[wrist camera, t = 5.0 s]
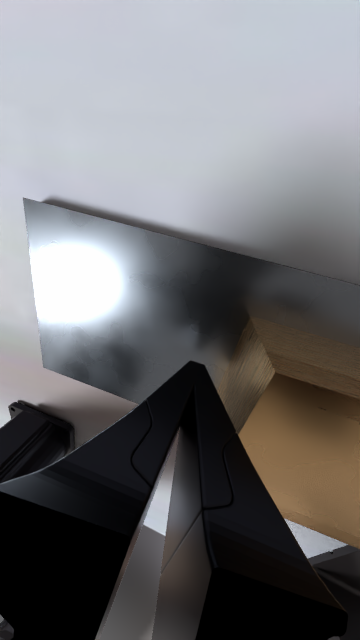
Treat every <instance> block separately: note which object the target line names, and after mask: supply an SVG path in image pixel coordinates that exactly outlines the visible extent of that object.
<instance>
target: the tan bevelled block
mask: <svg viewBox="0 0 360 640" xmlns="http://www.w3.org/2000/svg"><path fill="white" fill-rule="evenodd" d="M217 392H218V394H219V396H220V398H221V400H222V402H223V404H224V406H225V408H226V411H227V413H228V415H229V417H230V419H231V421H232V423H233V425H234V427H235V429H236V433H237V434H238V436H239V438H240V440H241V442H242V444H243V446H244V448H245V450H246V452H247V454H248V456H249V458H250V460H251V462H252V464H253V465H254V467H255V469H256V471H257V473H258V474H259V476H260V478H261V480H262V482H263V483H264V485H265V487H266V489H267V490H268V492H269V494H270V496H271V497H272V499H273V501H274V503H275V504H276V506H277V508H278V509H279V511H280V513H281V515H282V516H283V518H285V519H288V520H290V521H292V522H295V523H297V524H300V525H302V526H305V527H307V528H310V529H312V530H314V531H317V532H319V533H322V534H324V535H327V536H329V537H331V538H334V539H336V540H339V541H341V542H344V543H346V544H348V545H351V546H353V547H356V548H358V549H360V348H359V347H356V346H352V345H349V344H345V343H342V342H338V341H335V340H332V339H328V338H325V337H321V336H318V335H314V334H311V333H307V332H304V331H300V330H297V329H294V328H290V327H287V326H283V325H280V324H276V323H273V322H269V321H266V320H262V319H259V318H255V317H252V316H249V318H248V321H247V323H246V325H245V328H244V330H243V332H242V334H241V337H240V339H239V341H238V344H237V346H236V348H235V351H234V353H233V355H232V358H231V360H230V362H229V364H228V367H227V369H226V371H225V374H224V376H223V378H222V381H221V383H220V385H219V388H218V390H217Z"/></svg>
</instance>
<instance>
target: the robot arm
mask: <svg viewBox="0 0 360 640" xmlns="http://www.w3.org/2000/svg"><path fill="white" fill-rule="evenodd" d="M8 408H9V411H10V415H11V420H10V421H9V422H7V423H6V424H5V425H4V426H2V427H1V428H0V615H1V616H2V617H3V618H4V620H3V621H2V622H1V623H0V640H99V639H100V636H101V634H102V631H103V628H104V626H105V623H106V620H107V618H108V615H109V612H110V610H111V607H112V604H113V602H114V599H115V597H116V594H117V591H118V589H119V586H120V583H121V581H122V578H123V575H124V573H125V570H126V567H127V565H128V562H129V559H130V557H131V554H132V552H133V549H134V546H135V544H136V541H137V538H138V536H139V533H140V530H141V528H142V525H143V523H144V520H145V517H146V515H147V512H148V509H149V507H150V504H151V501H152V499H153V496H154V494H155V491H156V488H157V486H158V483H159V480H160V478H161V475H162V472H163V470H164V467H165V464H166V462H167V459H168V457H169V454H170V451H171V449H172V446H173V443H174V441H175V438H176V435H177V433H178V430H179V427H180V430H179V438H178V445H177V453H176V460H175V468H174V476H173V483H172V491H171V498H170V506H169V513H168V521H167V529H166V536H165V544H164V551H163V559H162V566H161V576H160V581H159V590H158V596H157V604H156V612H155V619H154V627H153V634H152V640H328V639H329V638H331V637H334V636H343V635H344V634H345V633H346V630H347V621H348V613H347V612H346V611H345V610H344V608H343V607H342V606H341V605H340V604H339V602H338V601H337V600H336V599H335V597H334V596H333V595H332V594H331V592H330V591H329V590H328V588H327V587H326V586H325V584H324V583H323V582H322V580H321V579H320V577H319V576H318V574H317V573H316V571H315V570H314V568H313V567H312V565H311V564H310V562H309V561H308V559H307V557H306V556H305V554H304V552H303V551H302V549H301V547H300V546H299V544H298V542H297V541H296V539H295V537H294V535H293V534H292V532H291V530H290V528H289V527H288V525H287V523H286V522H285V520H284V518H283V516H282V515H281V513H280V511H279V509H278V508H277V506H276V504H275V503H274V501H273V499H272V497H271V496H270V494H269V492H268V490H267V489H266V487H265V485H264V483H263V482H262V480H261V478H260V476H259V474H258V473H257V471H256V469H255V467H254V465H253V464H252V462H251V460H250V458H249V456H248V454H247V452H246V450H245V448H244V446H243V444H242V442H241V440H240V438H239V436H238V434H237V433H236V429H235V427H234V425H233V423H232V421H231V419H230V417H229V415H228V413H227V411H226V408H225V406H224V404H223V402H222V400H221V398H220V396H219V394H218V392H217V390H216V387H215V385H214V383H213V381H212V379H211V377H210V375H209V373H208V371H207V369H206V366H205V365H204V364H201V363H198V362H195V361H192V360H190V361H189V362H187V363H186V364H185V365H184V366H183V367H182V368H181V369H179V370H178V371H177V372H176V373H175V374H174V375H172V376H171V377H170V378H169V379H168V380H167V381H165V382H164V383H163V384H162V385H161V386H160V387H159V388H157V389H156V390H155V391H154V392H153V393H152V394H150V395H149V396H148V397H147V398H146V399H145V400H143V401H142V402H141V403H140V404H139V405H138V406H136V407H135V408H134V409H133V410H131V411H130V412H129V413H128V414H126V415H125V416H124V417H122V418H121V419H120V420H118V421H117V422H115V423H114V424H113V425H111V426H110V427H108V428H107V429H105V430H104V431H102V432H101V433H99V434H98V435H96V436H95V437H93V438H92V439H90V440H89V441H87V442H86V443H84V444H83V445H81V446H80V447H78V448H77V449H75V450H74V432H73V427H72V426H71V425H69V424H67V423H65V422H63V421H60V420H58V419H55V418H53V417H51V416H48V415H46V414H43V413H41V412H39V411H36V410H34V409H31V408H29V407H27V406H24V405H22V404H19V403H17V402H13V403H12V404H11V405H9V406H8Z"/></svg>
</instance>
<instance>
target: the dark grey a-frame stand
mask: <svg viewBox="0 0 360 640" xmlns="http://www.w3.org/2000/svg"><path fill="white" fill-rule="evenodd" d="M308 561H309V562H310V564H311V565H312V567H313V568H314V570H315V571H316V573H317V574H318V576H319V577H320V579H321V580H322V582H323V583H324V584H325V586H326V587H327V588H328V590H329V591H330V592H331V594H332V595H333V596H334V597H335V599H336V600H337V601H338V602H339V604H340V605H341V606H342V607H343V608H344V610H345V611H346V612H347V613H348V621H347V630H346V633H345V634H344V635H343V636H334V637H331V638H329V639H328V640H360V549H358V548H356V547H353V546H351V545H347V546H344V547H341V548H338V549H335V550H333V553H331V552H326V553H323V554H320V555H317V556H314V557H311V558H308Z"/></svg>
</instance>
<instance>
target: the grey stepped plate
mask: <svg viewBox="0 0 360 640" xmlns="http://www.w3.org/2000/svg"><path fill="white" fill-rule="evenodd" d="M23 203H24V211H25V219H26V227H27V236H28V244H29V252H30V261H31V269H32V277H33V285H34V294H35V302H36V310H37V319H38V327H39V335H40V343H41V352H42V360H43V367H44V368H46V369H49V370H52V371H54V372H57V373H59V374H62V375H65V376H67V377H70V378H72V379H75V380H78V381H80V382H83V383H85V384H88V385H91V386H93V387H96V388H99V389H101V390H104V391H106V392H109V393H112V394H114V395H117V396H119V397H122V398H125V399H127V400H130V401H132V402H135V403H138V404H140V403H141V402H142V401H143V400H145V399H146V398H147V397H148V396H149V395H150V394H152V393H153V392H154V391H155V390H156V389H157V388H159V387H160V386H161V385H162V384H163V383H164V382H165V381H167V380H168V379H169V378H170V377H171V376H172V375H174V374H175V373H176V372H177V371H178V370H179V369H181V368H182V367H183V366H184V365H185V364H186V363H187V362H189V361H190V360H192V361H195V362H198V363H201V364H204V365H205V366H206V369H207V371H208V373H209V375H210V377H211V379H212V381H213V383H214V385H215V387H216V390H218V388H219V385H220V383H221V381H222V378H223V376H224V374H225V371H226V369H227V367H228V364H229V362H230V360H231V358H232V355H233V353H234V351H235V348H236V346H237V344H238V341H239V339H240V337H241V334H242V332H243V330H244V328H245V325H246V323H247V321H248V318H249V316H252V317H255V318H259V319H262V320H266V321H269V322H273V323H276V324H280V325H283V326H287V327H290V328H294V329H297V330H300V331H304V332H307V333H311V334H314V335H318V336H321V337H325V338H328V339H332V340H335V341H338V342H342V343H345V344H349V345H352V346H356V347H359V348H360V285H356V284H352V283H348V282H344V281H341V280H337V279H333V278H329V277H325V276H321V275H318V274H314V273H310V272H306V271H302V270H298V269H295V268H291V267H287V266H283V265H279V264H275V263H272V262H268V261H264V260H260V259H256V258H252V257H249V256H245V255H241V254H237V253H233V252H230V251H226V250H222V249H218V248H214V247H210V246H207V245H203V244H199V243H195V242H191V241H187V240H184V239H180V238H176V237H172V236H168V235H164V234H161V233H157V232H153V231H149V230H145V229H141V228H138V227H134V226H130V225H126V224H122V223H118V222H115V221H111V220H107V219H103V218H99V217H95V216H92V215H88V214H84V213H80V212H76V211H73V210H69V209H65V208H61V207H57V206H53V205H50V204H46V203H42V202H38V201H34V200H30V199H27V198H23Z"/></svg>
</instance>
